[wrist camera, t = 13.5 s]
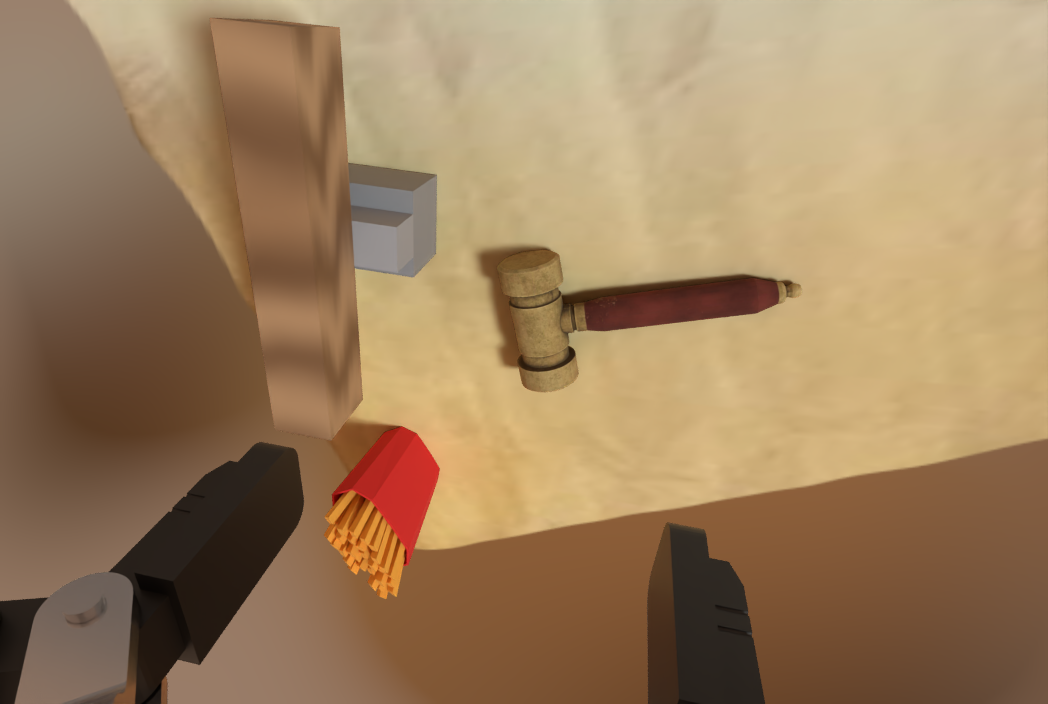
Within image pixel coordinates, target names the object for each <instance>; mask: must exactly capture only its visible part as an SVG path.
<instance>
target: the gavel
mask: <svg viewBox="0 0 1048 704" xmlns="http://www.w3.org/2000/svg"><path fill="white" fill-rule="evenodd" d="M497 270H498V275H499V279H500V284H501V289H502V292H503V293H504V294H505V295H507V296H510V301H509V306H510V310H511V315H512V320H513V325H514V329H515V334H516V339H517V343H518V348H519V351H520V353H521V354H522V355H521V356H520V357H519V359H518V367H519V372H520V376H521V381H522V384H523V386H524V387H525V388H527V389H529V390H531V391H536V392H552V391H556V390H560V389H562V388H565V387H567V386H568V385H570V384H571V383H573V382H574V381H575V380H576V379H577V377H578V374H579V373H578V366H577V360H576V354H575V350H574V349H573V348H572V347H570V346H568V345H569V337H568V333H573V332H574V330H577V331H586V330H591V331H610V330H619V329H627V328H636V327H644V326H653V325H661V324H670V323H678V322H687V321H695V320H704V319H712V318H721V317H729V316H738V315H746V314H755V313H758V312H760V311H763V310H765V309H767V308H769V307H772V306H774V305H776V304H781V303H783V302H785V299H786V297H791V298H796V297H799V296H800V295H801V293H802V289H801V286H800V285H799V284H790V285H789V286H785V285H784V284H783V282H780V281H778V282H773V281H768V280H762V279H756V278H747V279H739V280H731V281H724V282H716V283H708V284H700V285H693V286H685V287H677V288H669V289H661V290H654V291H646V292H638V293H630V294H622V295H615V296H607V297H600V298H597V299H593V300H590V301H587V302H582V303H575V304H574V306H571V304H563V301H562V295H561V292H560V291H559V290H558V286H560V285H561V284H562V282H563V275H562V269H561V263H560V257H559V255H558V254H557V253H555V252H553V251H549V250H536V251H528V252H521V253H518V254H515V255H512V256H510V257H507V258H506V259H504V260H503V261H502V262H501V263H500V264H499V265H498V266H497Z"/></svg>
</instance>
